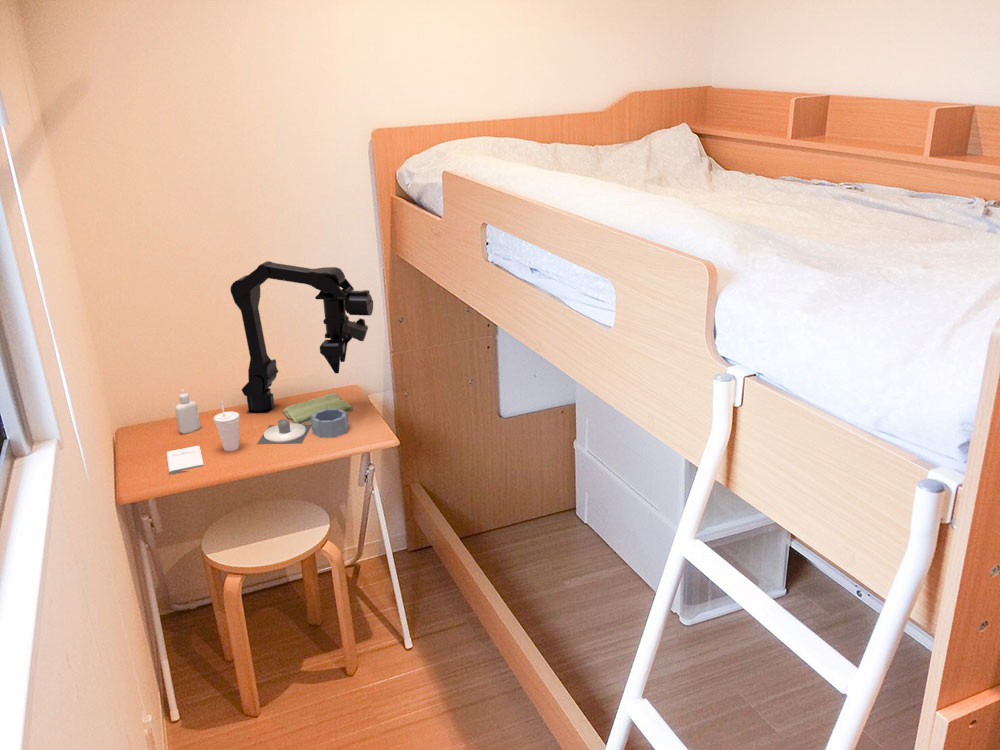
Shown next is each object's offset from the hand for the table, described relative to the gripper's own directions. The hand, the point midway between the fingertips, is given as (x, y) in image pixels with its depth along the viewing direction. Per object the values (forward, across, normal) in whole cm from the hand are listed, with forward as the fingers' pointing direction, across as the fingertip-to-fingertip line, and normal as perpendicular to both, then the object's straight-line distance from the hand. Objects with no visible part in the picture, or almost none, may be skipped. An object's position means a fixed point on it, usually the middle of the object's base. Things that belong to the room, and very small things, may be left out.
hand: (340, 367), depth 225 cm
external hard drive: (+15, -28, +36) cm, 48 cm away
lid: (+14, -15, +13) cm, 24 cm away
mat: (+14, -15, +13) cm, 24 cm away
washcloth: (+15, 0, +8) cm, 17 cm away
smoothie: (+14, -22, +26) cm, 37 cm away
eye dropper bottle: (+15, -9, +41) cm, 45 cm away
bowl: (+14, -13, +1) cm, 19 cm away
